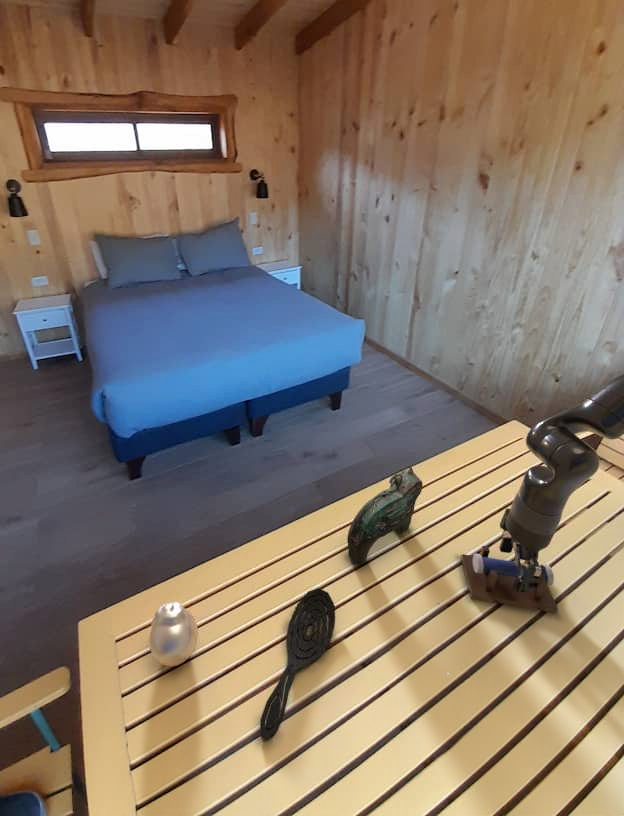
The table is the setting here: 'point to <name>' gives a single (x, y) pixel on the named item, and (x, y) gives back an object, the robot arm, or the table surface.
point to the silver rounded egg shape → (172, 634)
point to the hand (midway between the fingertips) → (511, 569)
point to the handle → (504, 567)
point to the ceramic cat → (384, 514)
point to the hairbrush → (300, 651)
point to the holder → (504, 588)
